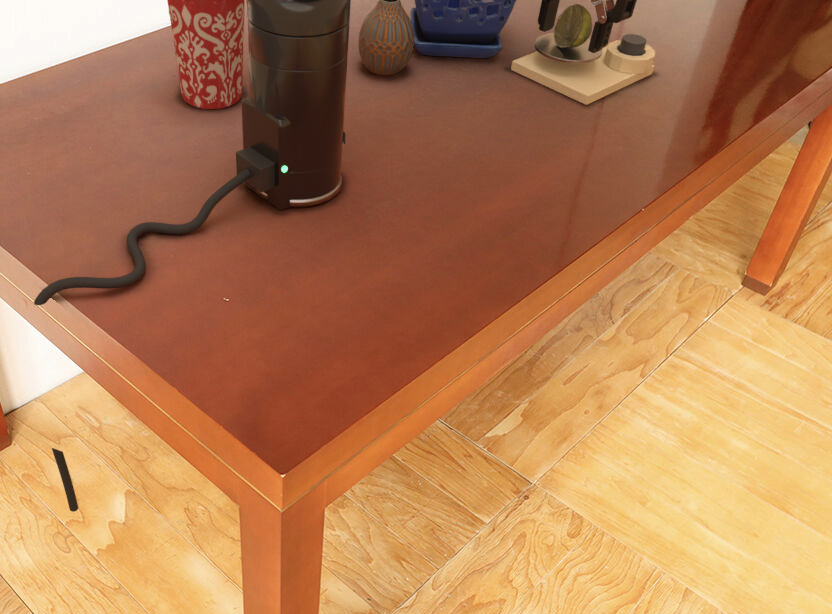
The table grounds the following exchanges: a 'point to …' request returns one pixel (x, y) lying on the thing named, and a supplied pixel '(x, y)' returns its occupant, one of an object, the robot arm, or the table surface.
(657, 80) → the table surface
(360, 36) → the vase
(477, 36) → the flower pot
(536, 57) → the scale
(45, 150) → the table surface
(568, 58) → the weighing plate
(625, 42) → the tare button
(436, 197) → the table surface
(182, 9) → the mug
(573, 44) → the lime
